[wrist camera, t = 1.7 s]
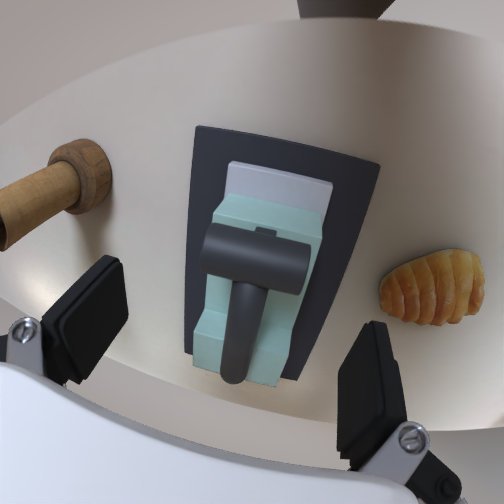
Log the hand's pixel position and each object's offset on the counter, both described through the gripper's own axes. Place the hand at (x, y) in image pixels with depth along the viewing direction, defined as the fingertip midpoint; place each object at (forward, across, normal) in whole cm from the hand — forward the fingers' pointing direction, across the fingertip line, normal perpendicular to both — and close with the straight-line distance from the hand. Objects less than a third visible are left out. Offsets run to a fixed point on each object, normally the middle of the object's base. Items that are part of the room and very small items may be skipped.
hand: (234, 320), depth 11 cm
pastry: (+13, -15, +3) cm, 20 cm away
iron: (+12, 0, +4) cm, 13 cm away
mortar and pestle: (+13, +17, 0) cm, 22 cm away
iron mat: (+13, 0, +7) cm, 15 cm away
